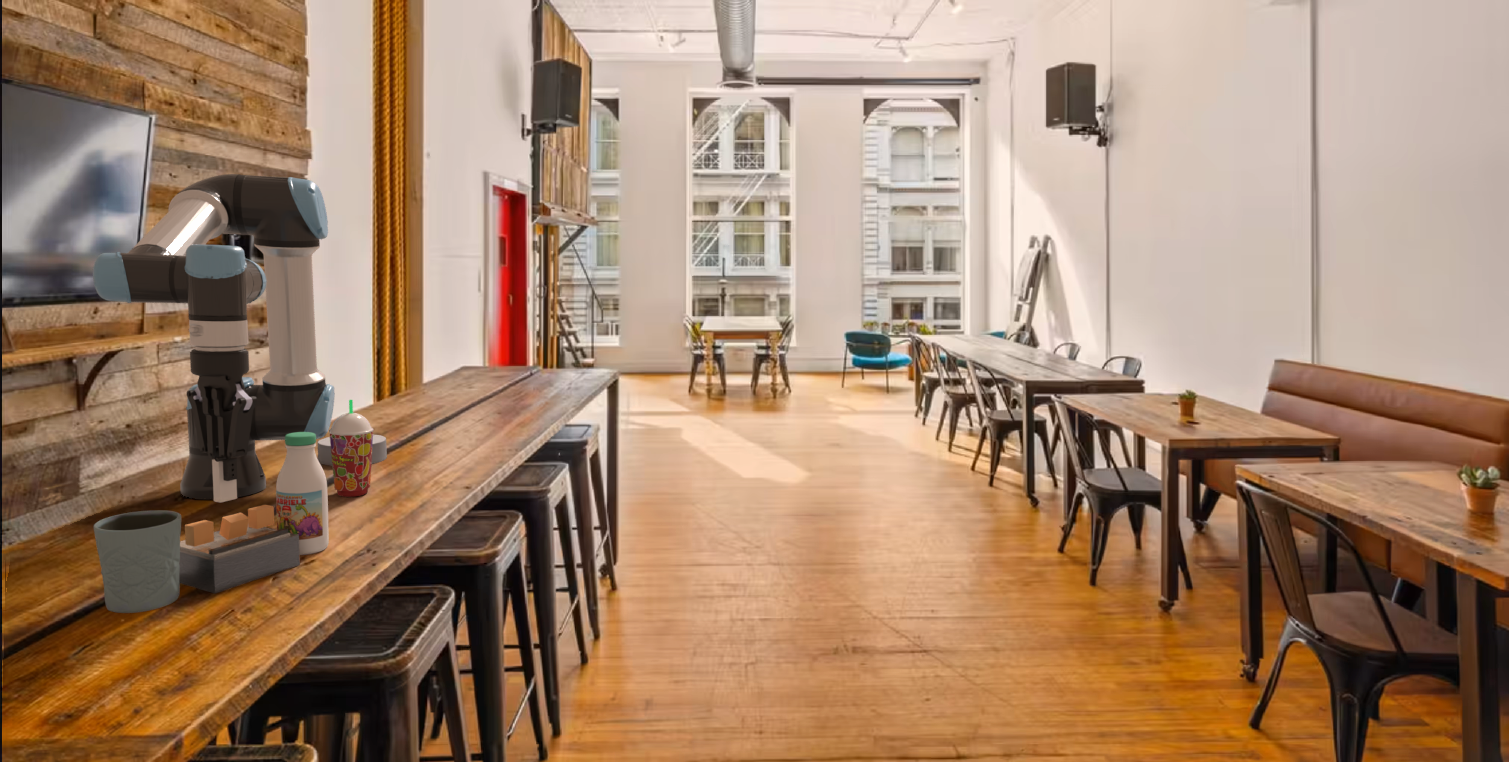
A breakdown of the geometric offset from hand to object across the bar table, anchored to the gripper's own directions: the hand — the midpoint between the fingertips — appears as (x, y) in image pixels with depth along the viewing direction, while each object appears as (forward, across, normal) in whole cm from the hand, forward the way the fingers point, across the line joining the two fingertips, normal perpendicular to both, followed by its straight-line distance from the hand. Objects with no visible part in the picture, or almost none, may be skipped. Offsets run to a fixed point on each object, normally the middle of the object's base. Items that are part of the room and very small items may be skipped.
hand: (225, 499), depth 132 cm
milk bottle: (+12, 0, +13) cm, 18 cm away
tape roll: (+12, -46, +64) cm, 80 cm away
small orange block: (+6, 0, +1) cm, 6 cm away
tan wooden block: (+6, 0, +6) cm, 9 cm away
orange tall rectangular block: (+6, 0, -4) cm, 8 cm away
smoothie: (+12, -21, +42) cm, 48 cm away
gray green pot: (+12, 0, -13) cm, 18 cm away
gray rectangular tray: (+12, 0, +1) cm, 12 cm away
